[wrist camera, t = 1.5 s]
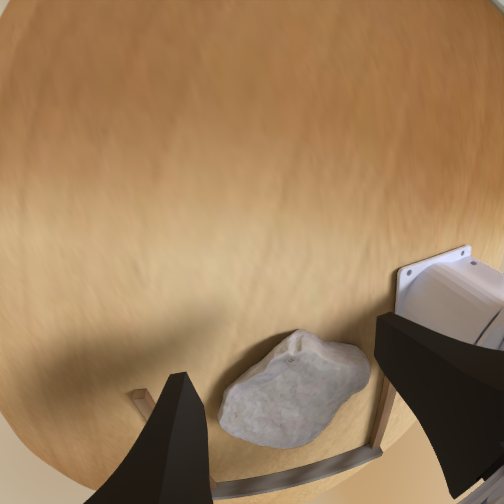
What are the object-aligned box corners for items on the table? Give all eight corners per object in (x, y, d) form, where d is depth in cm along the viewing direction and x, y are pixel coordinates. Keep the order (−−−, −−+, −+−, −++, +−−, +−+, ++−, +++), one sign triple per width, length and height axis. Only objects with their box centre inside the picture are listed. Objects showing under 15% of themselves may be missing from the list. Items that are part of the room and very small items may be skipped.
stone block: (209, 397, 24) (295, 428, 25) (202, 431, 20) (301, 461, 21) (272, 300, 22) (366, 346, 23) (276, 327, 17) (386, 375, 18)
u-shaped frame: (402, 323, 22) (416, 338, 20) (375, 443, 31) (381, 455, 28) (134, 390, 21) (129, 410, 18) (210, 486, 29) (211, 500, 26)
